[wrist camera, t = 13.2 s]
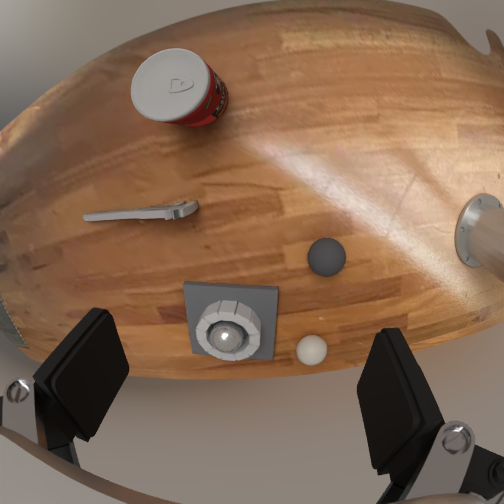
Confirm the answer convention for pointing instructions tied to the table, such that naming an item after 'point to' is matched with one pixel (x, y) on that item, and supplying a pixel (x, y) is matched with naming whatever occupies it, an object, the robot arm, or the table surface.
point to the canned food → (178, 89)
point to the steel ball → (226, 336)
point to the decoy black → (326, 257)
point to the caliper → (146, 212)
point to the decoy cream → (311, 350)
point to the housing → (232, 317)
